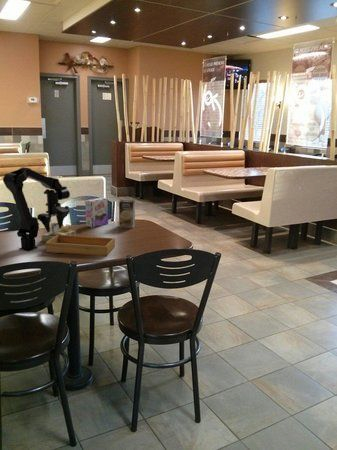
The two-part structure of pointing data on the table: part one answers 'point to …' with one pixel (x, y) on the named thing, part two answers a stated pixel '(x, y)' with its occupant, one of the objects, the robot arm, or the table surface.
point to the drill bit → (54, 229)
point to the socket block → (48, 236)
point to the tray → (80, 245)
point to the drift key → (65, 229)
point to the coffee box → (127, 213)
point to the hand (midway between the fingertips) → (54, 229)
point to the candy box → (96, 212)
